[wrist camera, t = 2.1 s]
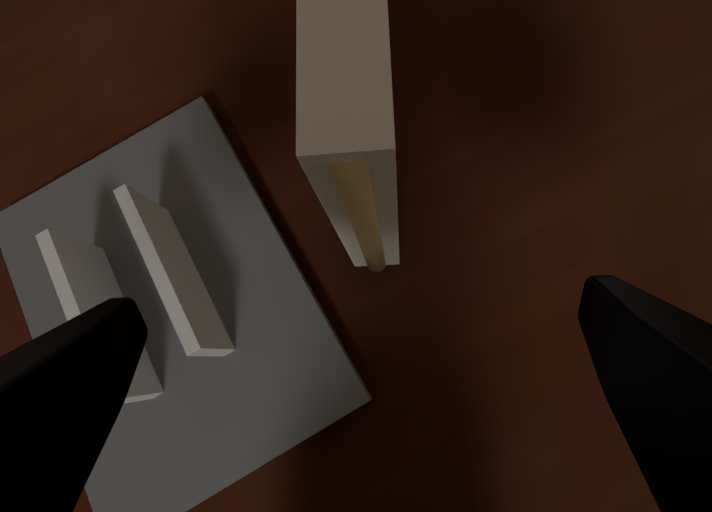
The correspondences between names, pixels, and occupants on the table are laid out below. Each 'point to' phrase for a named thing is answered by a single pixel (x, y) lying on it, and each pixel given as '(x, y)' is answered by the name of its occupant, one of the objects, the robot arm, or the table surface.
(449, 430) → the table surface
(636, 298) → the robot arm
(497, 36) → the table surface
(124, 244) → the grey base plate
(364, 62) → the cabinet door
